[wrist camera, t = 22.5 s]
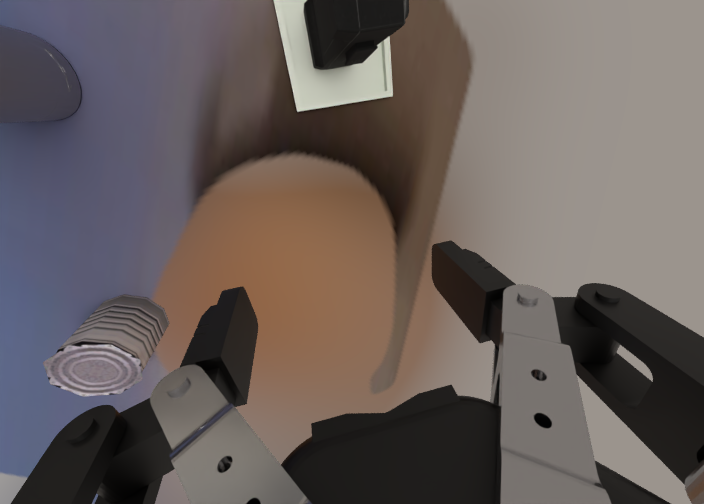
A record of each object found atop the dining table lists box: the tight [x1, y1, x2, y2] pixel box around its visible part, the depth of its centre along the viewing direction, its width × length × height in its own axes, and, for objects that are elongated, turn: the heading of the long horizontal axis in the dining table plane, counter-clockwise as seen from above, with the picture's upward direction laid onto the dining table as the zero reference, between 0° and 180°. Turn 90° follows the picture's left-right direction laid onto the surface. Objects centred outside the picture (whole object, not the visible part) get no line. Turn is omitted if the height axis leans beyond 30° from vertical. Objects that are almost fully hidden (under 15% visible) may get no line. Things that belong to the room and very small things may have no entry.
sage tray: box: [274, 0, 393, 112], centre depth 37 cm, size 14×14×2 cm
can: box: [43, 295, 169, 396], centre depth 45 cm, size 11×11×12 cm
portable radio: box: [303, 0, 409, 70], centre depth 26 cm, size 8×6×25 cm
